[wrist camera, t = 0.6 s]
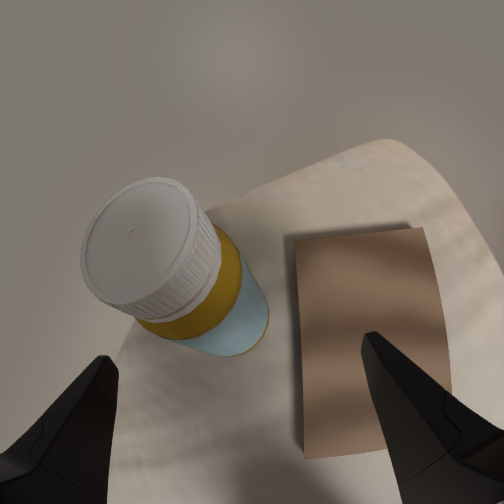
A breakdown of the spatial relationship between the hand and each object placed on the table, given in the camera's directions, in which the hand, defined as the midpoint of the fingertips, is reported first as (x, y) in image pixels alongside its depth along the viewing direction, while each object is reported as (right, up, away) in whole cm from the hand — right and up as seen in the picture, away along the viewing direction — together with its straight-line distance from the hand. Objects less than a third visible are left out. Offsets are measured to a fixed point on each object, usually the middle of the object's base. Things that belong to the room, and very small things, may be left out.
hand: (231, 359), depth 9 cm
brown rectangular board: (+11, -4, +12) cm, 16 cm away
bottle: (-1, -2, +16) cm, 16 cm away
